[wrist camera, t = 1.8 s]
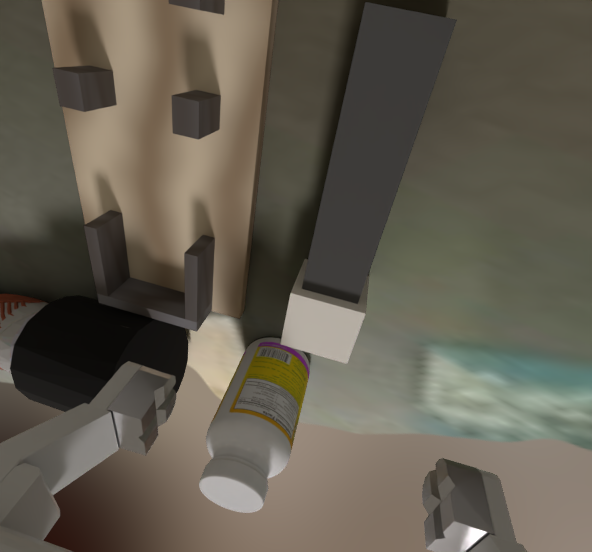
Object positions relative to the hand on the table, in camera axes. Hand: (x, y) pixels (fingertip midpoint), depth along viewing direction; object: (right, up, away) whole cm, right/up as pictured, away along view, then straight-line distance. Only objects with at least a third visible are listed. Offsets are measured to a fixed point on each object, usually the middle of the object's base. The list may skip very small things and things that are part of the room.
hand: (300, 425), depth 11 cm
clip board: (-9, +13, +15) cm, 22 cm away
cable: (-27, +1, +28) cm, 39 cm away
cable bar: (+4, +10, +14) cm, 17 cm away
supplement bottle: (-2, -4, +24) cm, 25 cm away
